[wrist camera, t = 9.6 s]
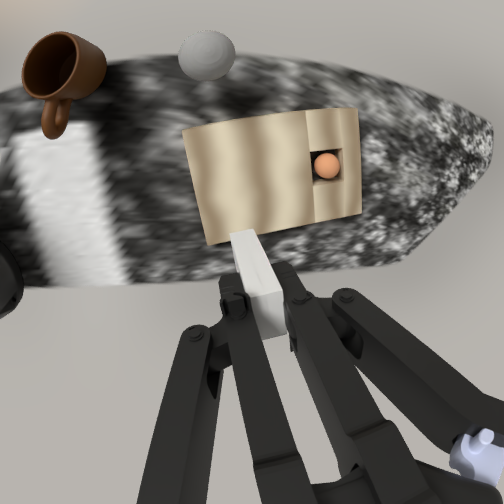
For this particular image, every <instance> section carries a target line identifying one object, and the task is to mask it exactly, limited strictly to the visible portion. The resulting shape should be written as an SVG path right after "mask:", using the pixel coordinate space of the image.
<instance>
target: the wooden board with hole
mask: <svg viewBox="0 0 504 504" xmlns="http://www.w3.org/2000/svg"><path fill="white" fill-rule="evenodd" d="M182 134H183V139H184V144H185V149H186V153H187V158H188V163H189V167H190V172H191V176H192V181H193V185H194V190H195V194H196V198H197V203H198V207H199V211H200V216H201V220H202V224H203V228H204V232H205V236H206V240H207V244H208V245H213V244H217V243H222V242H227V241H231V240H230V235H229V234H230V233H234V232H239V231H243V230H248V229H254V231H255V233H256V235H259V234H264V233H268V232H273V231H278V230H283V229H287V228H292V227H297V226H302V225H307V224H312V223H316V222H321V221H326V220H331V219H336V218H341V217H346V216H351V215H356V214H361V213H362V189H361V154H360V136H359V122H358V110H357V108H328V109H313V110H302V111H291V112H282V113H274V114H266V115H259V116H252V117H245V118H239V119H233V120H227V121H222V122H217V123H211V124H207V125H202V126H197V127H192V128H188V129H184V130H182ZM328 149H335V157H336V158H337V159H338V161H339V163H340V169H339V172H338V174H337V175H336V177H332V178H325V179H318V180H312V170H311V159H310V152H312V151H320V150H328Z"/></svg>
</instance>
